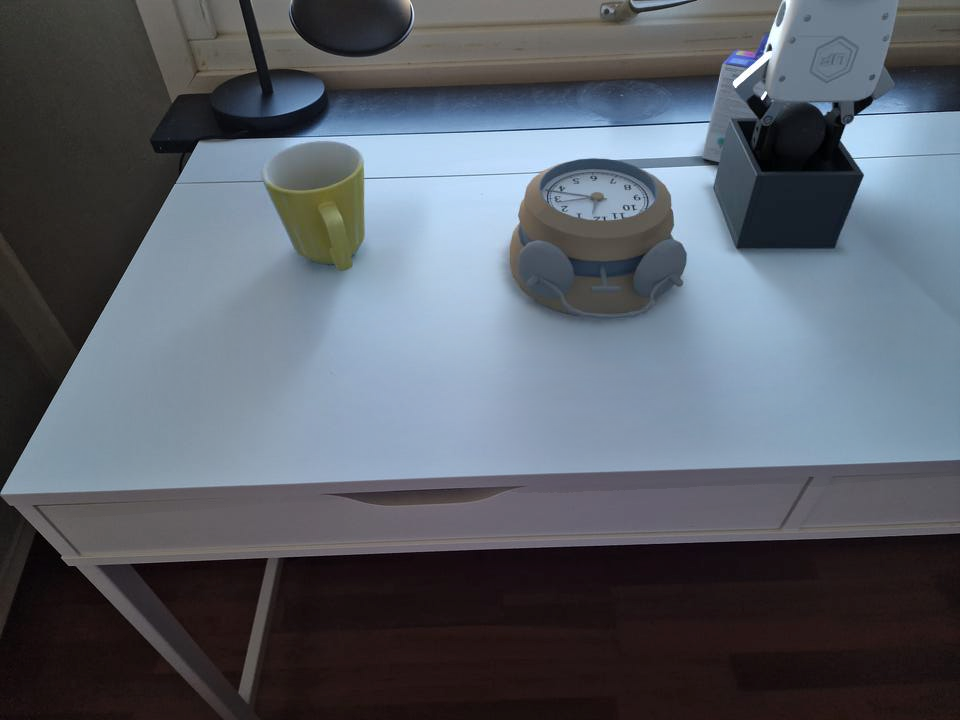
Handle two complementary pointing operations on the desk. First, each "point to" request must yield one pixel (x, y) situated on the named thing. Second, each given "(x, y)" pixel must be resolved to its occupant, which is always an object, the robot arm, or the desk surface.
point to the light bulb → (797, 136)
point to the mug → (319, 199)
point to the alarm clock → (596, 240)
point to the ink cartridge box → (731, 99)
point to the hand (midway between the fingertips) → (791, 153)
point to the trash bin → (783, 194)
